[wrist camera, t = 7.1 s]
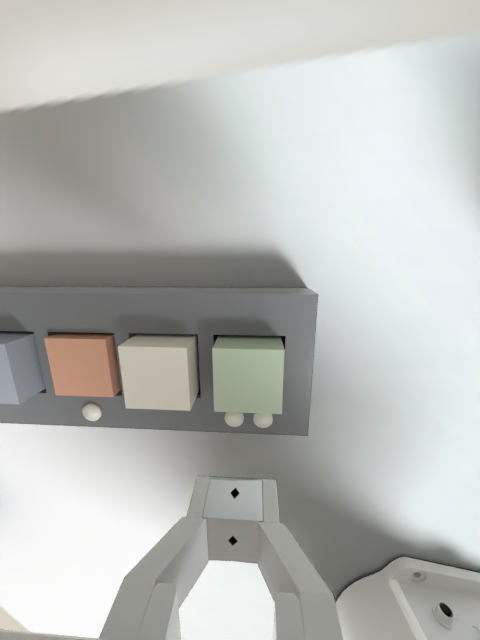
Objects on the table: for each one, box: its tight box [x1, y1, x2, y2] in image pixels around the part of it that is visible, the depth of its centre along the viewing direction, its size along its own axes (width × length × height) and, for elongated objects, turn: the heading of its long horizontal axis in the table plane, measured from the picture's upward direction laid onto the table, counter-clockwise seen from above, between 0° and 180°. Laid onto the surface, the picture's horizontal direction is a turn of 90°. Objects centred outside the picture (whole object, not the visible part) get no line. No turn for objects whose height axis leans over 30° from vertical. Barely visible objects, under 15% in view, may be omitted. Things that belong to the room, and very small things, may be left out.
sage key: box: [212, 335, 285, 414], centre depth 20 cm, size 5×5×4 cm
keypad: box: [0, 286, 318, 436], centre depth 23 cm, size 30×12×4 cm, turn 90°
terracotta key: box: [44, 332, 121, 397], centre depth 22 cm, size 5×5×4 cm
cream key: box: [118, 333, 200, 411], centre depth 20 cm, size 5×5×4 cm
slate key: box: [0, 331, 45, 404], centre depth 21 cm, size 5×5×4 cm
